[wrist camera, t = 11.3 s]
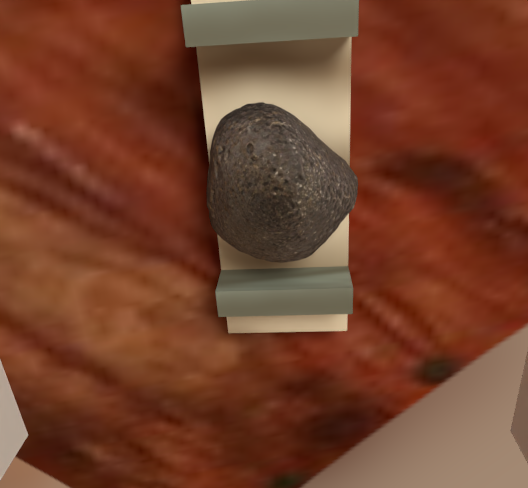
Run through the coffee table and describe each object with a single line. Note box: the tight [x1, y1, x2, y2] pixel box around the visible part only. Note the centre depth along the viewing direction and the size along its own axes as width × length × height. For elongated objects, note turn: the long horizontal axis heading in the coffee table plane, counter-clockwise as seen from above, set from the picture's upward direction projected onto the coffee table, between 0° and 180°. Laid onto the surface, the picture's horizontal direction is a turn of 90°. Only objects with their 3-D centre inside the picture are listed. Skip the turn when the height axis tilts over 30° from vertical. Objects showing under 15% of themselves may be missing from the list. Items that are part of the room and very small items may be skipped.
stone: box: [207, 102, 358, 263], centre depth 30 cm, size 10×8×10 cm
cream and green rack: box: [181, 0, 359, 333], centre depth 31 cm, size 26×9×6 cm, turn 4°
